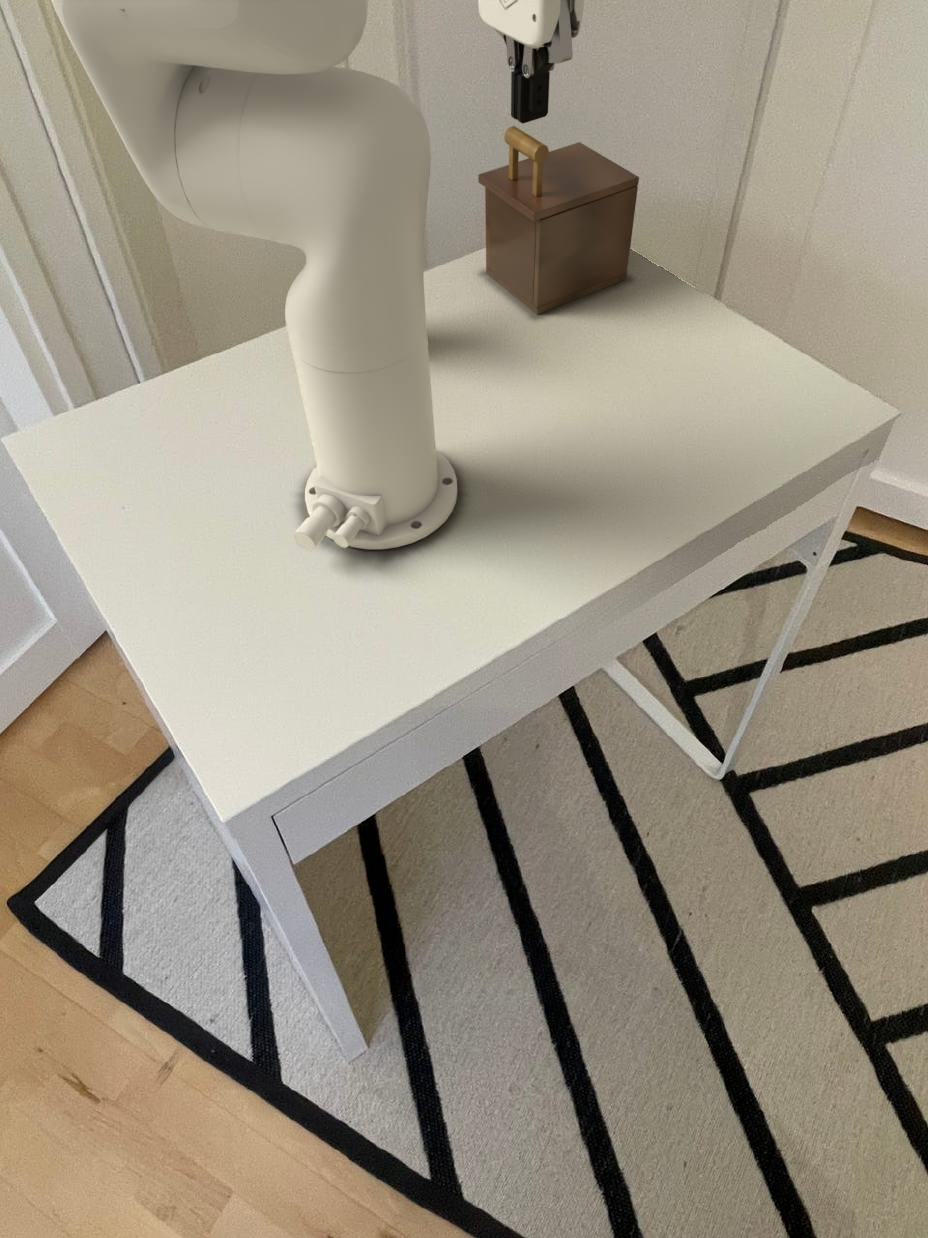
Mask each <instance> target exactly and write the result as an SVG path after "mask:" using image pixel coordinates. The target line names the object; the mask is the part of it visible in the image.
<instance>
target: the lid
mask: <svg viewBox="0 0 928 1238" xmlns="http://www.w3.org/2000/svg"><path fill="white" fill-rule="evenodd" d="M503 138H504V142H505V144H506V145H507V146H508V164H507V165H504V166H500V167H497V168H494V169H491V170H487V171H485V172H482V173H478V175H477V176H478V180H477V181H478V183H479V184H480V185H482V186H483V187H484V188H485V187H486V188H487V189H489V190H490V191H492V192H493V193H494V194H496V195H497V196H499V197H500V198H501V199H503V200H504V201H506V202H507V203H509V204H510V205H511V206H513V207H514V208H516V209H517V210H518V211H520V212H521V213H523V214H524V215H526V216H527V217H528V218H530V219H531V220H533V221H537V220H540V219H543V218H545V217H548V216H551V215H554V214H557V213H560V212H563V211H565V210H568V209H571V208H574V207H577V206H580V205H583V204H585V203H588V202H591V201H594V200H597V199H600V198H603V197H605V196H608V195H611V194H614V193H617V192H620V191H623V190H625V189H628V188H631V187H634V186H638V185H639V181H640V176H639V175H636V174H635V173H633V172H631V171H629V170H628V169H626V168H625V167H623V166H621V165H619V164H618V163H616V162H614V161H612V160H611V159H609V158H608V157H606V156H605V155H603V154H601V153H599V152H598V151H595V150H594V149H592V148H591V147H589V146H587V145H585V144H584V143H583V142H581V141H578V142H575V143H571V144H569V145H566V146H563V147H560V148H556V149H553V150H550V149H549V147H548V146H547V145H546V144H544V142H542V141H540V140H538V139H536V138H535V137H533V136H532V135H530V134H528V133H527V132H525V131H523V130H522V129H520V128H518V127H517V126H514V125H512V126H509V127H508V128H507V129H506V130H505V133H504V137H503ZM520 154H522V155H524V156H525V157H527V158H525V159H522V160H519V156H520Z"/></svg>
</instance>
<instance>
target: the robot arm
mask: <svg viewBox="0 0 928 1238" xmlns="http://www.w3.org/2000/svg"><path fill="white" fill-rule="evenodd" d="M477 1H478V3H477V5H478V15H479V17H480V19H481V21H483V22H484V23H485V24H486V25H487V26H488V27H490V28H492V29H493V30H494V31H495V32H496V33H497V34H498V35H499V36H500V37H501V38H502V39H503V41H504V44H505V47H506V57H507V59H506V60H507V66H508V68H509V69H510V70H511V73H510V75H511V77H510V78H511V82H510V116H511V118H512V119H514V120H516V121H518V122H519V123H521V124H526V123H530V122H533V121H536V120H538V119H539V120H540V119H542V118H545V117H546V116H548V115H549V114H548V113H549V101H550V100H549V99H550V98H549V97H550V74H551V72H553V71H554V69H555V65H556V64H561V63H565V62H569V61H571V60H572V59H573V40H572V39H574V38H576V37H577V36H578V35H579V33H580V32H581V29H582V24H583V23H582V22H583V16H584V6H585V0H477ZM50 2H51V3H52V5H53V9H54V11H55V13H56V15H57V18H58V20H59V22H60V23H61V25H62V28H63V30H64V32H65V34H66V36H67V38H68V40H69V43H70V44H71V46H72V48H73V50H74V52H75V54H76V56H77V58H78V59H79V61H80V63H81V65H82V67H83V69H84V71H85V73H86V74H87V77H88V79H89V80H90V83H91V84H92V86H93V88H94V90H95V92H96V93H97V96H98V97H99V99H100V101H101V103H102V105H103V107H104V108H105V110H106V113H107V114H108V116H109V118H110V120H111V122H112V124H113V126H114V127H115V130H116V132H117V133H118V135H119V137H120V139H121V141H122V143H123V144H124V146H125V149H126V150H127V152H128V154H129V156H130V158H131V159H132V161H133V163H134V165H135V167H136V169H137V170H138V172H139V174H140V175H141V178H142V179H143V181H144V183H145V185H146V186H147V187H148V189H149V191H150V192H151V193H152V194H153V196H154V197H155V198H156V200H157V201H158V202H159V203H160V204H161V205H162V206H163V207H164V208H165V209H166V210H167V211H168V212H169V213H170V214H172V215H173V216H174V217H176V218H177V219H179V220H181V221H183V222H184V223H187V224H190V225H193V226H195V227H200V228H203V229H206V230H212V231H216V232H220V233H225V234H230V235H231V234H232V235H237V236H242V237H243V236H244V237H250V238H256V239H261V240H267V241H270V242H274V243H278V244H282V245H288V246H292V247H295V248H297V249H299V250H300V251H302V253H303V254H304V257H305V265H304V266H303V268H302V269H301V270H300V271H299V273H298V274H297V275H296V277H295V278H294V280H293V281H292V284H291V286H290V288H289V290H288V293H287V294H286V299H285V305H284V306H285V307H284V319H285V327H286V332H287V336H288V341H289V345H290V349H291V354H292V358H293V362H294V366H295V371H296V376H297V380H298V385H299V389H300V394H301V399H302V403H303V407H304V412H305V417H306V422H307V426H308V430H309V431H308V432H309V435H310V440H311V444H312V448H313V453H314V458H315V463H316V466H315V467H314V469H313V470H312V471H311V473H310V475H309V477H308V478H307V481H306V485H305V488H304V501H305V506H306V510H307V513H308V517H306V518H305V520H304V521H303V522H302V523H301V525H299V527H298V528H297V530H295V532H294V533H293V535H292V537H293V540H294V542H295V543H296V544H297V546H299V547H300V548H301V549H302V550H305V551H309V552H313V551H314V550H315V549H316V548H317V547H318V546H319V545H320V543H321V542H322V541H323V540H324V538H325V537H327V538H329V539H331V540H332V541H333V542H334V543H335V544H336V545H337V546H339V547H340V548H343V549H347V548H348V547H351V548H356V549H363V550H388V549H395V548H399V547H403V546H406V545H407V546H408V545H410V544H413V543H415V542H417V541H418V542H419V540H422V539H424V538H426V537H428V536H430V535H431V534H432V533H434V532H436V531H437V530H438V529H439V528H440V527H441V526H442V525H443V524H444V523H446V521H447V520H448V518H449V517H450V516H451V514H452V513H453V511H454V508H455V506H456V503H457V499H458V479H457V476H456V472H455V469H454V467H453V466H452V464H451V463H450V461H449V460H448V459H447V458H446V457H445V455H443V454H442V453H441V452H439V450H437V449H436V448H437V447H436V435H435V421H434V406H433V394H432V393H433V392H432V378H431V368H430V367H431V365H430V353H429V352H430V351H429V350H430V349H429V339H428V328H427V315H426V301H425V299H426V298H425V281H424V252H425V251H424V250H425V249H424V248H425V229H426V228H425V227H426V217H427V206H428V199H429V198H428V196H429V187H430V179H431V164H432V163H431V162H432V154H431V153H432V152H431V138H430V132H429V128H428V125H427V122H426V118H425V116H424V115H423V113H422V111H421V109H420V107H419V106H418V105H417V103H416V102H415V101H414V100H413V99H412V97H411V96H410V95H409V94H408V93H407V92H406V91H404V89H402V88H401V87H400V86H399V85H396V84H394V83H393V82H391V81H390V80H387V79H385V78H383V77H380V76H377V75H374V74H371V73H368V72H366V71H362V70H356V69H351V68H346V67H338V66H337V65H339V64H341V63H343V62H344V61H345V60H347V59H348V58H349V57H350V56H351V54H352V53H353V52H354V50H355V49H356V48H357V46H358V45H359V43H360V42H361V40H362V38H363V36H364V35H363V34H364V31H365V28H366V24H367V20H368V19H367V18H368V5H369V0H50Z"/></svg>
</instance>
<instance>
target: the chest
mask: <svg viewBox="0 0 928 1238" xmlns="http://www.w3.org/2000/svg"><path fill="white" fill-rule="evenodd" d="M638 188H639V186H638V185H637V186H634V187H631V188H628V189H625V190H623V191H620V192H617V193H614V194H611V195H608V196H605V197H603V198H600V199H597V200H594V201H591V202H588V203H585V204H583V205H580V206H577V207H574V208H571V209H568V210H565V211H563V212H560V213H557V214H554V215H551V216H548V217H545V218H543V219H540V220H537V221H533V220H531V219H530V218H528V217H527V216H526V215H524V214H523V213H521V212H520V211H518V210H517V209H516V208H514V207H513V206H511V205H510V204H509V203H507V202H506V201H504V200H503V199H501V198H500V197H499V196H497V195H496V194H494V193H493V192H492V191H490V190H489V189H487V188H486V187H484V193H485V194H484V197H485V198H484V201H485V203H484V205H485V273H486V275H487V276H489V278H491V279H492V280H494V281H495V282H496V283H497V284H499V285H500V286H501V287H502V288H503V289H505V290H506V291H507V292H508V293H510V294H511V295H512V296H514V298H516V299H517V300H518V301H520V302H521V303H522V304H523V305H525V306H526V307H527V308H528V309H530V310H531V311H532V312H533V313H535V314H536V315H539V314H542V313H545V312H547V311H550V310H552V309H555V308H558V307H560V306H563V305H565V304H568V303H570V302H573V301H575V300H577V299H580V298H583V297H585V296H588V295H591V294H593V293H595V292H598V291H600V290H603V289H605V288H608V287H610V286H613V285H615V284H618V283H621V282H622V281H625V280H627V277H628V268H629V261H630V253H631V246H632V238H633V228H634V222H635V214H636V207H637V206H636V205H637V197H638V190H639V189H638Z"/></svg>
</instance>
